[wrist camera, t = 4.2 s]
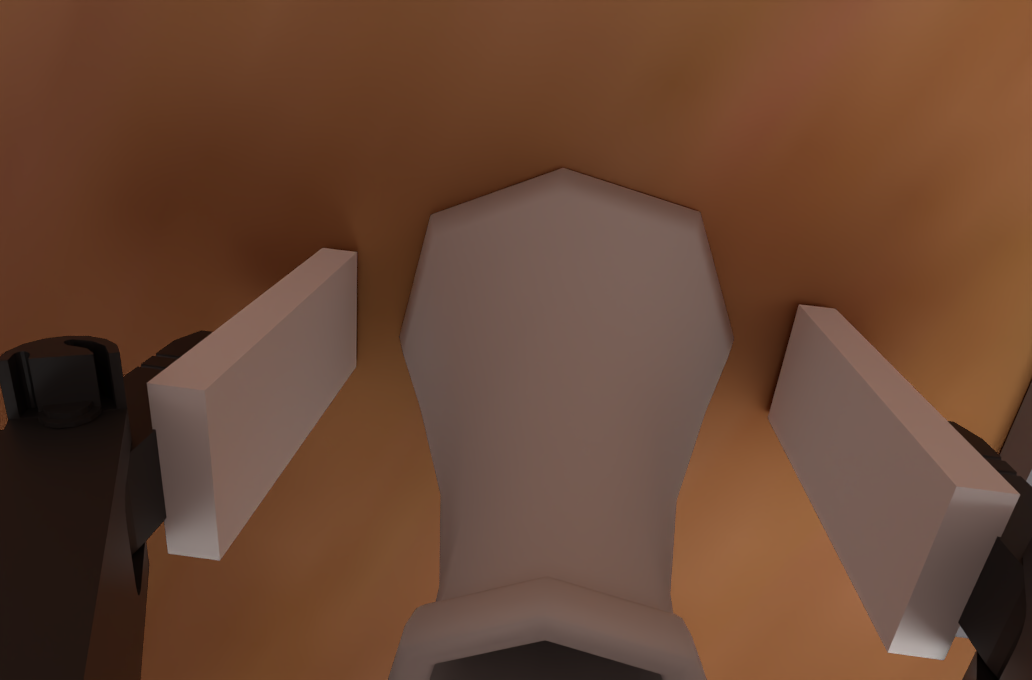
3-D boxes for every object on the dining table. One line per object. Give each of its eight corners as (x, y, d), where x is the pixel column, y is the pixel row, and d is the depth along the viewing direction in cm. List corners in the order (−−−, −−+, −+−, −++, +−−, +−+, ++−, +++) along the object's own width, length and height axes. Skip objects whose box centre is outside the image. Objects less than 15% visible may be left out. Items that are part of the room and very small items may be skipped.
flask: (717, 476, 16) (901, 1023, 7) (415, 469, 17) (225, 966, 8) (748, 162, 14) (1114, 393, 4) (386, 168, 14) (37, 381, 5)
